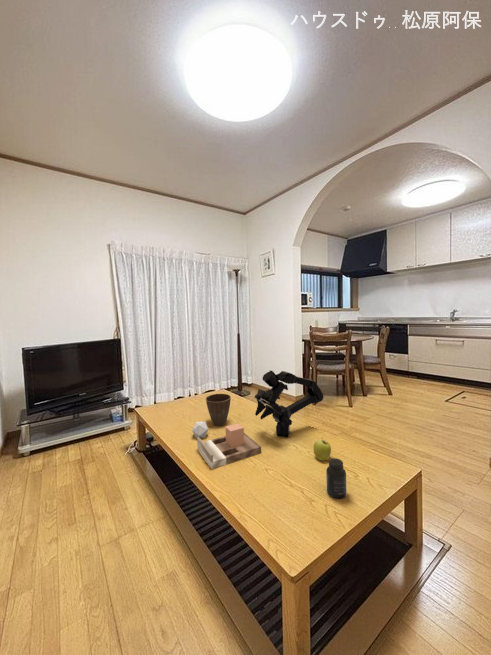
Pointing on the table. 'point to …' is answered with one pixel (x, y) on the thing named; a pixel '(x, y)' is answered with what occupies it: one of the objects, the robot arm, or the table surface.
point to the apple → (322, 449)
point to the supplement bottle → (336, 479)
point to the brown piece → (226, 451)
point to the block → (234, 435)
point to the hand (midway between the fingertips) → (258, 416)
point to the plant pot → (218, 408)
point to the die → (200, 429)
